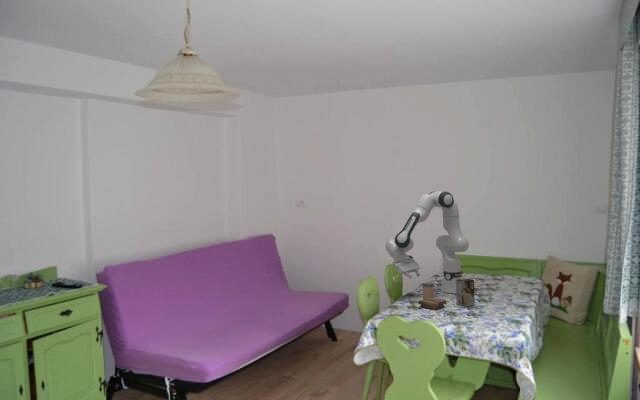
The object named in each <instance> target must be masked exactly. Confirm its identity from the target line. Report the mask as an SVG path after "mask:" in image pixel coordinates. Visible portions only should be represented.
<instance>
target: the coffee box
mask: <svg viewBox="0 0 640 400" xmlns="http://www.w3.org/2000/svg"><path fill="white" fill-rule="evenodd" d="M455 294H456V295H455V296H456V305H457V306H459V307H461V308H465V307H474V306H476V305H475V303H476V302H475V301H476V300H475V299H476V298H475V280H474V279H472V278H468V277H467V278H464V279H456V293H455Z"/></svg>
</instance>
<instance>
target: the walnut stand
mask: <svg viewBox="0 0 640 400" xmlns="http://www.w3.org/2000/svg"><path fill="white" fill-rule="evenodd" d="M446 304H447V300H446V299H439V298H435V297H434V298H430V297H429V298H426V299H423V298H422V299H420V300H418V305H420V308H422V309H423V308H424V309H428V310H434V311H436V310H439V309H442V308H444V306H445V305H446Z"/></svg>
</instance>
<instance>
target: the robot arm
mask: <svg viewBox="0 0 640 400" xmlns="http://www.w3.org/2000/svg"><path fill="white" fill-rule="evenodd" d="M434 207H436V208H440V209H442V226H443V227H442V228H443V229H444V230H445V231H446V233H447V234H443V235H438V237H437V238H436V240H435V246H436V248H437V249H439V251H440V252H441V255H442V259H443V278H441V279H442V280H441V287H440V288H439V289H440V290H441V292H442V293H447V294H456V279H465V277H463V275H464V271H463V270H461V259H460V258H459V257H458V256H457V254H456V253H465V252H467V251H468V249H469V246H470V242H469V240H468V238H466V237H465V236H464V234H463V232H462V229H461V226H460V225H461V224H460V211H459V205H458V203H457V201H456V200H455V199H454V197H453V194H451V192H449V191H443V190H438V191H436V190H435V191H431V192H430V193H424V194H422V195H421V197H420V198H419V199H418V201H417V202H416V204H415V206H414V208H413V210H412V212H411V214H410V216H409V217H408V219H407V220H406V223H405V224H404V226H403V228H402V229H401V230H400V231H399V232H398V233H397V234H396V235H395V237H394V239H393V238H391V239H389V240H387V242H386V243H385V250H386V251H387V253H388V255H389V256H390V257H391V258H392V259H393V261H394V263H393V264H394V266H395V269H396V271H397V273H398V274H399V275H401V276H402V275H404V276H406V277H407V278H408V279H409V280H410V279H412V277H413V276H412V274H410V273H414V274H415V275H416V277H420V276H421V274H420V272H419V270H420V268H421V266H420V264H419V263H418V262H417V261H416V260H415V259H414V256H412V255H409V254H406V253H408V252H409V251H411V250H412V249H413V247H414V244H415V243H414V240H413V239H412V238H411V235H412V233H413V232H414V229H415V227H416V226H417V225H418V224H419V223H424V222H425V221H426V220H428V218H429V216H430V214H431V213H432V211H433V208H434Z"/></svg>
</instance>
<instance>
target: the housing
mask: <svg viewBox="0 0 640 400" xmlns="http://www.w3.org/2000/svg"><path fill="white" fill-rule="evenodd" d="M429 297H430V298H435V283H434V282H430V281H429V282H428V281H426V282H423V283H422V300H423V299H426V298H429Z"/></svg>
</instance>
